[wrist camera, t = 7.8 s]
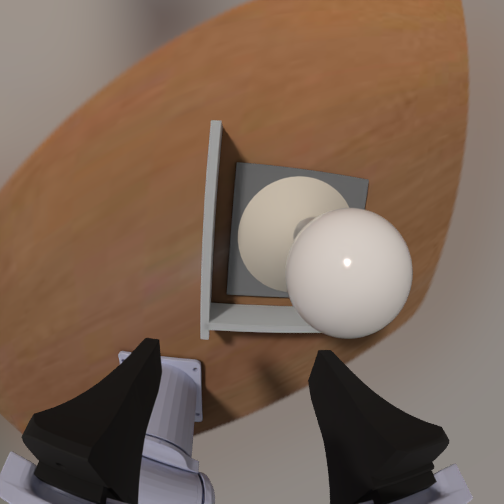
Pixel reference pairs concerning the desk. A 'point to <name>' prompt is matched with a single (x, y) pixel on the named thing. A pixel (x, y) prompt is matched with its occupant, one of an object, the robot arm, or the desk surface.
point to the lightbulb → (348, 272)
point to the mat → (278, 220)
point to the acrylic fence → (212, 313)
